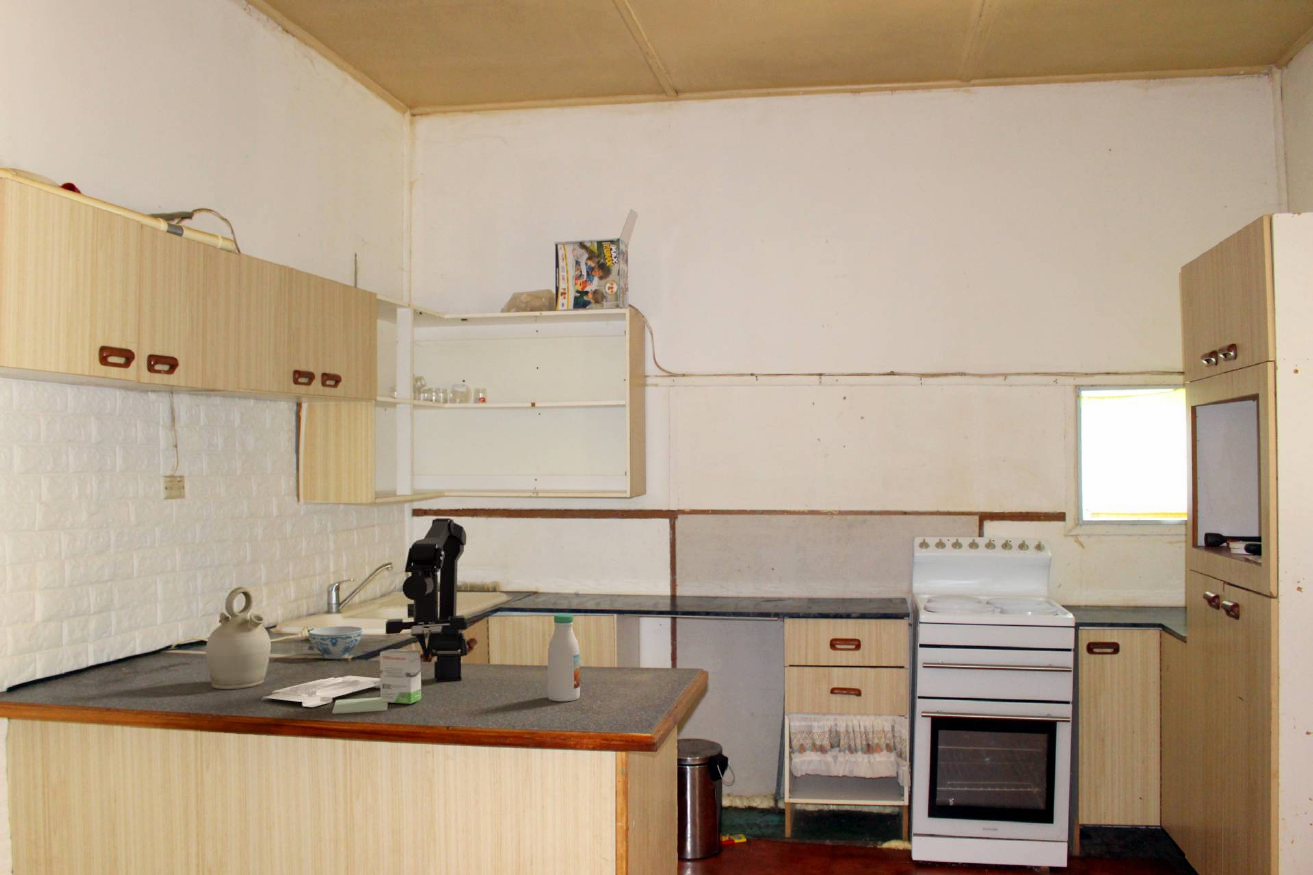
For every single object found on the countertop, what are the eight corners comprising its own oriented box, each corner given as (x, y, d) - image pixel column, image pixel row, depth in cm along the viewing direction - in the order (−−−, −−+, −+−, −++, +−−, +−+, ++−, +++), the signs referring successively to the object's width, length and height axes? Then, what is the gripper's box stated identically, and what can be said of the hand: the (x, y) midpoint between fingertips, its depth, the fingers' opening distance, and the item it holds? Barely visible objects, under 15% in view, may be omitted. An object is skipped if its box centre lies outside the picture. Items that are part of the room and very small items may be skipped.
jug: (281, 683, 256) (281, 586, 256) (221, 693, 244) (221, 592, 245) (254, 675, 266) (255, 582, 267) (195, 684, 255) (196, 587, 255)
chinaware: (348, 649, 303) (348, 624, 304) (371, 656, 292) (371, 630, 293) (300, 656, 293) (300, 630, 294) (322, 663, 282) (322, 636, 282)
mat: (388, 698, 238) (388, 696, 238) (387, 710, 226) (387, 708, 226) (336, 701, 235) (336, 699, 235) (332, 713, 224) (332, 711, 224)
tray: (251, 700, 237) (251, 684, 238) (338, 682, 262) (339, 668, 262) (312, 707, 228) (313, 690, 228) (397, 687, 253) (397, 673, 253)
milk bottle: (566, 703, 232) (566, 618, 233) (541, 699, 236) (540, 615, 237) (586, 697, 239) (586, 614, 239) (560, 693, 243) (560, 611, 243)
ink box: (422, 699, 235) (421, 649, 235) (410, 704, 230) (409, 653, 230) (391, 696, 238) (391, 647, 238) (379, 701, 233) (378, 651, 233)
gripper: (463, 589, 246) (464, 652, 246) (385, 593, 242) (386, 657, 241) (466, 594, 236) (467, 660, 235) (385, 598, 231) (386, 665, 230)
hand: (426, 660), depth 235 cm, fingers closed
